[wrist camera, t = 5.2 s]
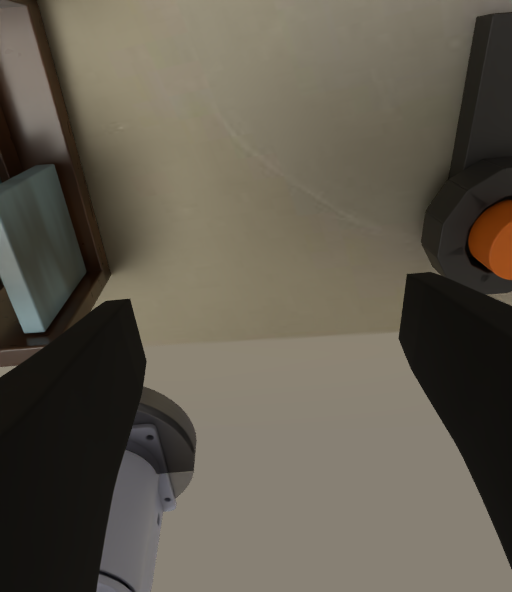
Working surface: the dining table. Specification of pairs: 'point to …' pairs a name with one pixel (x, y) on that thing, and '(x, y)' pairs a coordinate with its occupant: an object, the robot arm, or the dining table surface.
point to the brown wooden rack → (40, 197)
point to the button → (494, 239)
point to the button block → (476, 159)
